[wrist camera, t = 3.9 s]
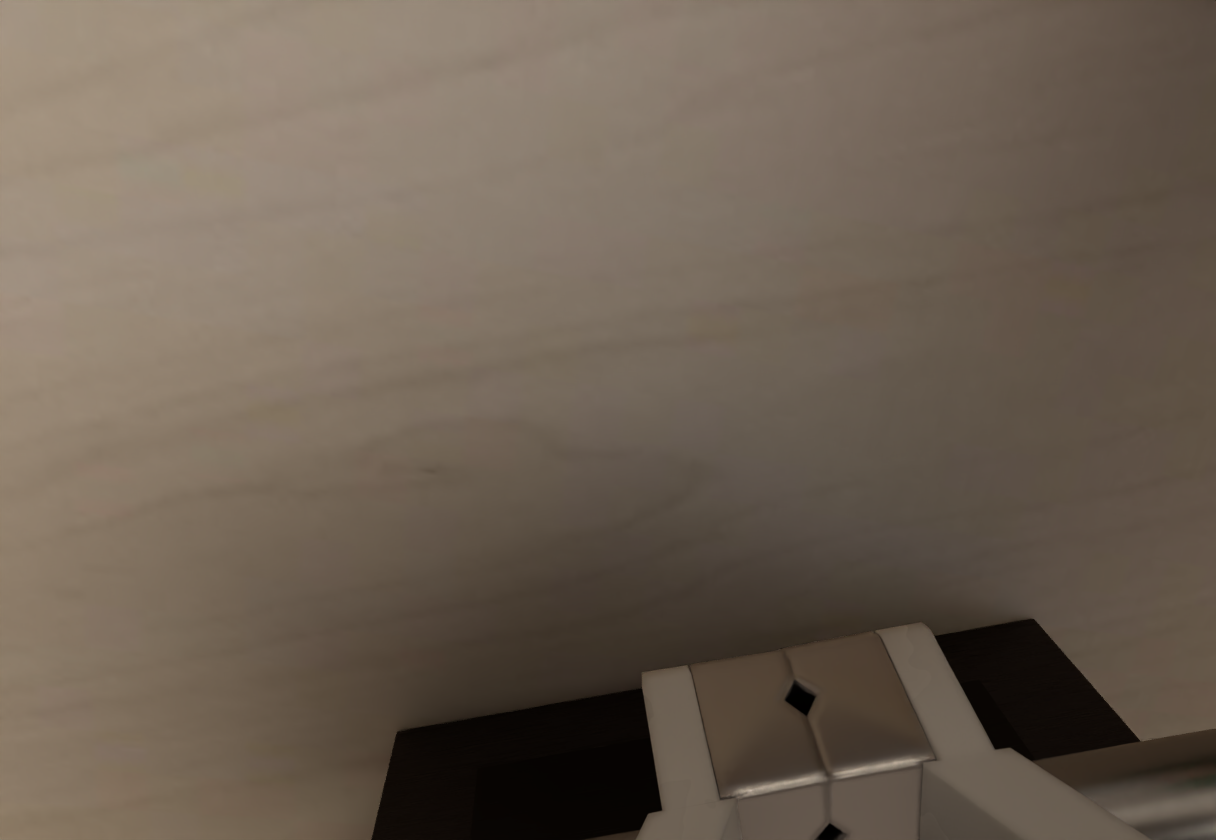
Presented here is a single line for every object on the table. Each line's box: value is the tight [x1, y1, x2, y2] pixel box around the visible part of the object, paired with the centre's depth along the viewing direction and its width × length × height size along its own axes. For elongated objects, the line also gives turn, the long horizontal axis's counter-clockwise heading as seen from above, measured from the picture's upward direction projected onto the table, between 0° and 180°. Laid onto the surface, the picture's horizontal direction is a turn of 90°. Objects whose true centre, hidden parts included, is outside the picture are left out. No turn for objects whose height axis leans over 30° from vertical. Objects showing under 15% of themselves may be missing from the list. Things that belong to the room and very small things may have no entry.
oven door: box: [371, 619, 1216, 840], centre depth 19 cm, size 7×18×14 cm, turn 99°
